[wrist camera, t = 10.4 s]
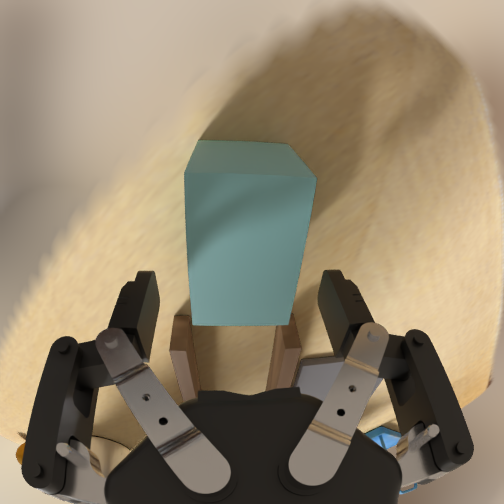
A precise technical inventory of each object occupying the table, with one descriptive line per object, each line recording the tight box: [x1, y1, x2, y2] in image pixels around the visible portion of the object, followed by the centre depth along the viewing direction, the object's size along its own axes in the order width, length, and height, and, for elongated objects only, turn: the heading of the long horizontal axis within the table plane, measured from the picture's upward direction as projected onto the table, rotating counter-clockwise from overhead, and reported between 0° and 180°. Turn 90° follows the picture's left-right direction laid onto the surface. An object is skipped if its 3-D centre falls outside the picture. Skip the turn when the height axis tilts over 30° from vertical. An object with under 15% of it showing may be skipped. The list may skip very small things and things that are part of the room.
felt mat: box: [293, 356, 383, 402], centre depth 30 cm, size 11×11×1 cm
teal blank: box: [184, 140, 317, 326], centre depth 15 cm, size 5×8×6 cm, turn 176°
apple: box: [16, 443, 25, 465], centre depth 45 cm, size 9×9×9 cm
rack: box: [169, 314, 302, 402], centre depth 26 cm, size 9×20×6 cm, turn 177°
